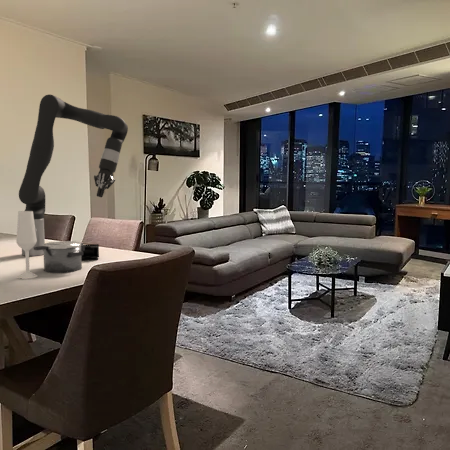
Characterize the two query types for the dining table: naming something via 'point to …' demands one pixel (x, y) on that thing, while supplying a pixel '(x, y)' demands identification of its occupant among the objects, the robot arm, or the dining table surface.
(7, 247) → the dining table surface
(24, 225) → the champagne flute
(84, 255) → the end cap
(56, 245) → the lid
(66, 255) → the pot
